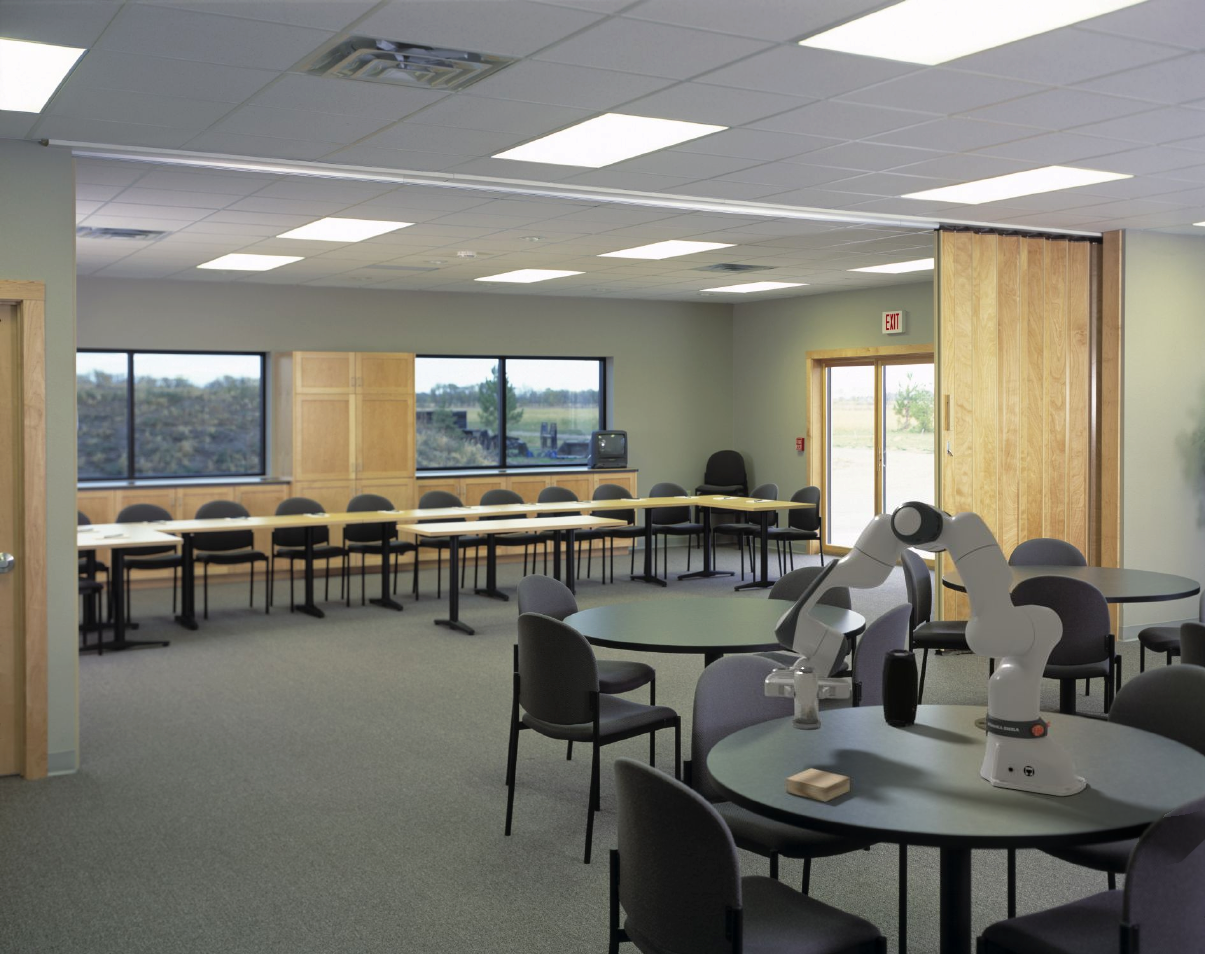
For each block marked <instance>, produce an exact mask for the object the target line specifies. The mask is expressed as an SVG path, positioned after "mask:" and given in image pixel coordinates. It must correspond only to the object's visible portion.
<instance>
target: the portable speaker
mask: <svg viewBox="0 0 1205 954" xmlns="http://www.w3.org/2000/svg"><path fill="white" fill-rule="evenodd" d="M884 654H885V655H884V660H883V667H882V671H881V672H882V674H881V675H882V677H881V680H882V681H881V683H882V684H881V687H882V688H881V696H882V697H881V698H882V708H883V717H884V720H885V722H886V723H889V725H890V726H891V727H899V728H905V727H906V726H907V725H909V724H911V725H912V726H913V725H915V722H916V721H915V720H916V718H917V712H918V711H917V710H918V704H919V703H918V702H919V670H918V665H917V660H916V652H912V651H909V650H907V649H902V648H896V649H895V648H894V649H892V650H890V651H885V653H884Z"/></svg>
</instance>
